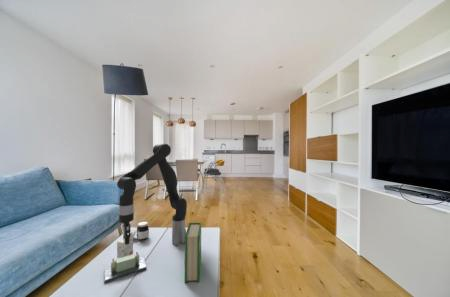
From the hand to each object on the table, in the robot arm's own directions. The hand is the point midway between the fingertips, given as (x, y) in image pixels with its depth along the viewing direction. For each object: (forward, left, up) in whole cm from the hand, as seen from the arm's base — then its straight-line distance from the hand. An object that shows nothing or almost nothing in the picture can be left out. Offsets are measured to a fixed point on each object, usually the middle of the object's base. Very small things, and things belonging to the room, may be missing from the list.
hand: (126, 240), depth 104 cm
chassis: (0, 0, -16) cm, 16 cm away
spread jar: (-13, -36, -17) cm, 42 cm away
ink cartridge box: (-1, -14, -17) cm, 22 cm away
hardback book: (-32, +22, -17) cm, 42 cm away
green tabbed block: (0, 0, -15) cm, 15 cm away
